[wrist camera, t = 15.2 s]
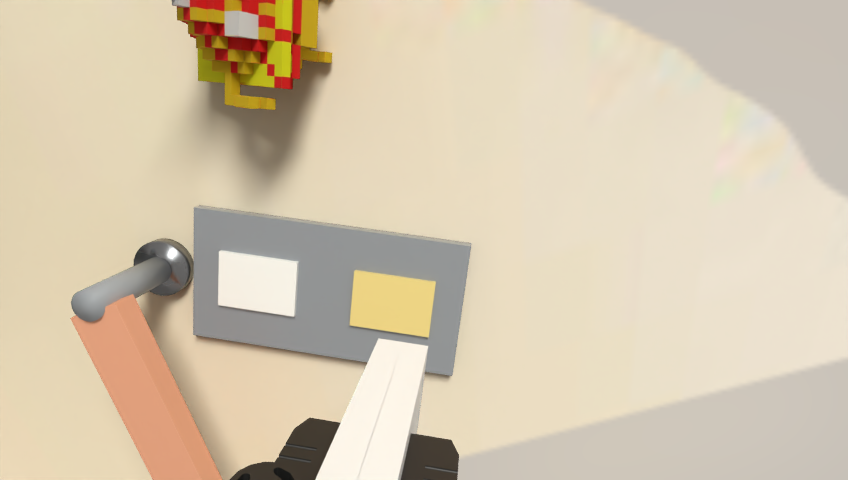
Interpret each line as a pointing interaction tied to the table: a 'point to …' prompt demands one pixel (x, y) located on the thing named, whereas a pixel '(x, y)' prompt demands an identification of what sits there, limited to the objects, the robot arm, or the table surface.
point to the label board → (325, 286)
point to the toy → (252, 43)
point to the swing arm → (141, 373)
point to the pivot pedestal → (175, 258)
